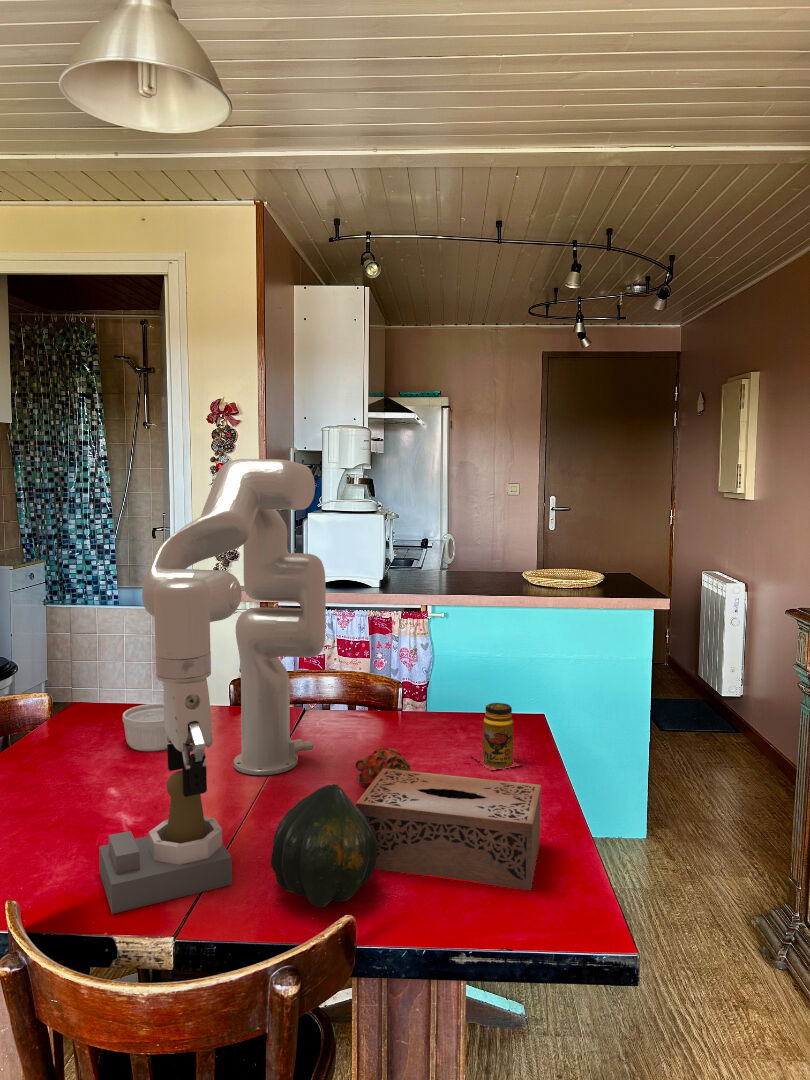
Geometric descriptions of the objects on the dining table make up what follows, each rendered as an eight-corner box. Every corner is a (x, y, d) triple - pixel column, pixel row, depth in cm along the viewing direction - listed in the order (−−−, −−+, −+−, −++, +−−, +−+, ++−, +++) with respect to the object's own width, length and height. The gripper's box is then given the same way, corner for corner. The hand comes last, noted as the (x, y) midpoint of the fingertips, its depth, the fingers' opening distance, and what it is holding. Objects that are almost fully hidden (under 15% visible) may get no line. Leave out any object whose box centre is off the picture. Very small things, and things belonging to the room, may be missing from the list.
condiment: (490, 772, 153) (491, 712, 152) (470, 757, 161) (471, 700, 160) (522, 767, 156) (524, 708, 155) (501, 753, 164) (502, 697, 163)
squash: (265, 892, 98) (340, 792, 101) (241, 844, 112) (307, 758, 115) (346, 945, 102) (415, 848, 106) (313, 894, 116) (375, 809, 120)
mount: (209, 848, 120) (209, 808, 120) (231, 884, 110) (231, 840, 109) (99, 872, 113) (98, 829, 112) (112, 913, 102) (111, 866, 102)
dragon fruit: (411, 808, 139) (358, 802, 146) (428, 769, 145) (377, 764, 152) (390, 779, 135) (337, 774, 142) (409, 739, 141) (357, 736, 148)
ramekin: (200, 740, 170) (199, 709, 169) (151, 758, 159) (150, 725, 158) (159, 729, 177) (158, 699, 176) (109, 746, 166) (109, 714, 165)
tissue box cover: (355, 868, 115) (356, 803, 115) (382, 826, 129) (383, 768, 128) (531, 893, 109) (532, 824, 108) (539, 846, 123) (541, 784, 122)
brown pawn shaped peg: (196, 858, 109) (195, 782, 108) (156, 854, 110) (155, 778, 109) (215, 839, 115) (214, 766, 114) (177, 835, 116) (176, 763, 115)
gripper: (226, 677, 105) (229, 799, 107) (195, 648, 120) (198, 755, 122) (169, 685, 101) (173, 810, 103) (144, 654, 116) (148, 764, 118)
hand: (186, 780), depth 112 cm, fingers open, 9 cm apart
